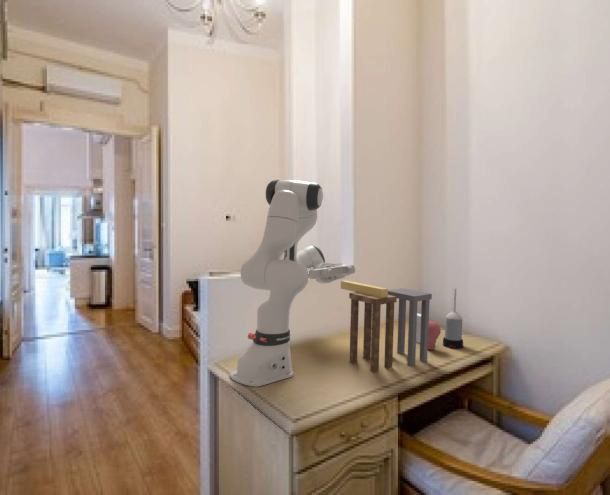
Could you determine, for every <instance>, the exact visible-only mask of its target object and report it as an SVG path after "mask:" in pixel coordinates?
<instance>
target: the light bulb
mask: <svg viewBox="0 0 610 495" xmlns="http://www.w3.org/2000/svg"><path fill="white" fill-rule="evenodd" d="M441 333H442V332H441V326H440V324H438V323H437V322H436V321H434V320H429V328H428V351H429V350H430V351H432V350H435V349H436V343H437V339H438V338H439V336H440V335H441Z"/></svg>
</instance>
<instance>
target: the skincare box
mask: <svg viewBox="0 0 610 495" xmlns="http://www.w3.org/2000/svg"><path fill="white" fill-rule="evenodd" d="M420 334H421V313H418V312H417V329H416V343H418V344H420Z"/></svg>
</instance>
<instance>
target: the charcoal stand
mask: <svg viewBox="0 0 610 495" xmlns="http://www.w3.org/2000/svg"><path fill="white" fill-rule="evenodd" d="M388 295H392V296H396V297H397V299H398V315H397V316H398V319H397V320H398V321H397V347H396V348H397V349H396V352H397V354H399V355H403V354H405V349H406V348H405V347H406V343H405V342H406V323H407V322H406V320H407V318H406V316H407V314H406V313H407V301H408V302H409V306H408V307H409V308H408V313H409V314H408V331H407V332H408V335H407V336H408V337H407V339H408V340H407V361H406V362H407V363H406V364H407V366H410V367H413V366H416V353H417V351H416V350H417V349H416V348H417V342H416V329H417V313H418V302H421V309H420V310H421V311H420V312H421V313H420V314H421V334H420V343H419V362H421V363H423V362H424V363H428V355H429V354H428V353H429V352H428V351H429V349H428V328H429V321H430V300H432V298H433V295H432V293H429V292H423V291H419V290H413V289H407V288H395V289H394V288H393V289H388Z"/></svg>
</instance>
